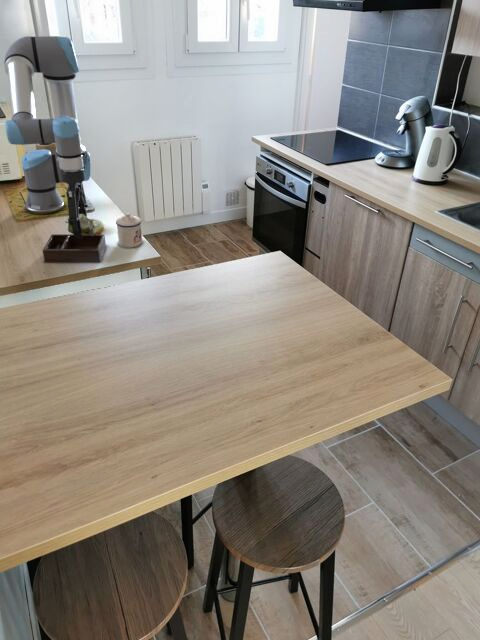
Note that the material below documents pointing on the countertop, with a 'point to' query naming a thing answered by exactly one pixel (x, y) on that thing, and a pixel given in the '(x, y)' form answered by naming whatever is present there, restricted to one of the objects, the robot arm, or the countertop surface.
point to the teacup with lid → (129, 231)
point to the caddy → (74, 248)
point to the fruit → (83, 225)
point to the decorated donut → (97, 227)
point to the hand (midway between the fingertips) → (81, 231)
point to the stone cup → (47, 147)
